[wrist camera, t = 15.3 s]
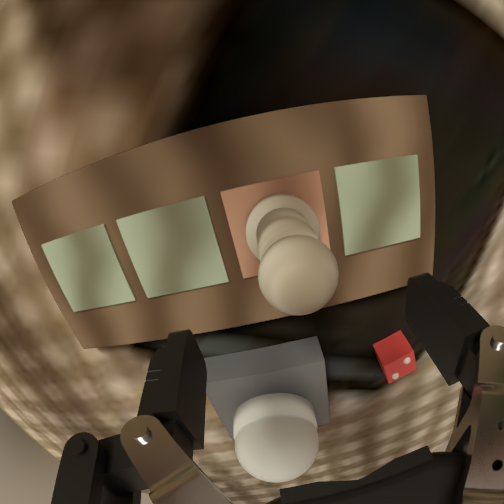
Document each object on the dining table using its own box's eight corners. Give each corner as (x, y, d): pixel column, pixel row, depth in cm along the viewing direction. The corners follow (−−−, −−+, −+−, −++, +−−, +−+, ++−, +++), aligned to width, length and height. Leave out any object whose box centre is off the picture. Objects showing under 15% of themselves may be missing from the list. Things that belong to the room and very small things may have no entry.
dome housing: (232, 418, 30) (232, 440, 27) (203, 357, 26) (200, 383, 23) (324, 401, 29) (329, 423, 27) (316, 335, 25) (324, 360, 22)
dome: (243, 436, 26) (246, 496, 20) (223, 397, 23) (222, 468, 17) (315, 424, 26) (328, 483, 19) (309, 381, 23) (325, 453, 17)
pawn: (254, 265, 20) (262, 347, 13) (238, 201, 18) (238, 260, 11) (319, 251, 20) (359, 325, 13) (309, 186, 18) (355, 234, 11)
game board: (89, 338, 25) (83, 350, 23) (22, 195, 19) (10, 202, 17) (423, 269, 23) (433, 278, 21) (414, 95, 17) (427, 95, 16)
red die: (378, 362, 27) (390, 386, 24) (372, 344, 26) (384, 369, 23) (404, 349, 27) (418, 371, 24) (400, 330, 26) (415, 353, 23)
